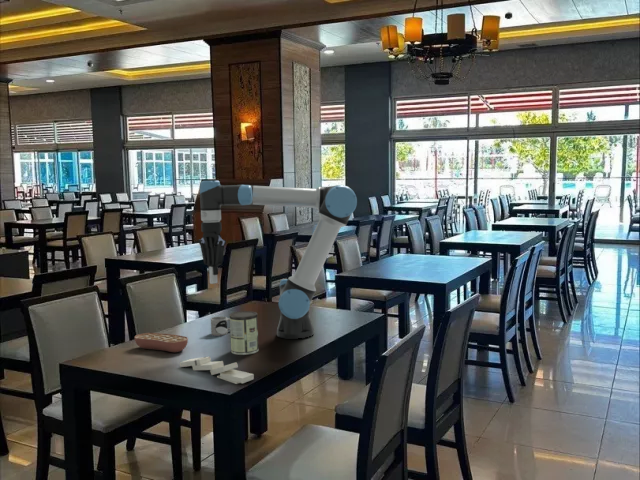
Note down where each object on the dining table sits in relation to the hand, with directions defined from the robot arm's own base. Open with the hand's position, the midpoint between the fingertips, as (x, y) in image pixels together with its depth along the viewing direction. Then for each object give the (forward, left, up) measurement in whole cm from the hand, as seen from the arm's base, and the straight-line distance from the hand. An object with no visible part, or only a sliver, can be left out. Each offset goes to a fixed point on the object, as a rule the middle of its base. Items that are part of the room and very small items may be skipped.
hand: (213, 283), depth 241 cm
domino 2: (-2, +29, -24) cm, 37 cm away
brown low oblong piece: (+19, +6, -25) cm, 32 cm away
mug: (+3, -20, -25) cm, 32 cm away
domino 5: (-14, +38, -23) cm, 47 cm away
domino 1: (+3, +26, -24) cm, 35 cm away
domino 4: (-13, +36, -25) cm, 46 cm away
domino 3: (-11, +34, -23) cm, 43 cm away
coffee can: (-13, +7, -25) cm, 29 cm away
